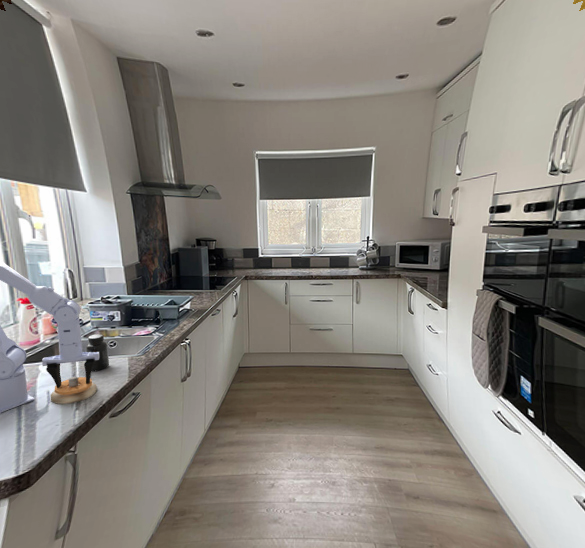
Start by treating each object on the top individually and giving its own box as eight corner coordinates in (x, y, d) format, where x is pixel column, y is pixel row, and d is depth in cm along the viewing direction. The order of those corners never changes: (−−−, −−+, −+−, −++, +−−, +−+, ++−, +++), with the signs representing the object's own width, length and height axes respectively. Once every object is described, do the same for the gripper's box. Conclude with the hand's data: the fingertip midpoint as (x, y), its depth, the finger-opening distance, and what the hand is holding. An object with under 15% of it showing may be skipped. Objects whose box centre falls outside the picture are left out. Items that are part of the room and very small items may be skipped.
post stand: (64, 408, 98) (63, 391, 97) (42, 397, 104) (41, 381, 103) (105, 390, 108) (104, 375, 108) (82, 381, 114) (81, 367, 113)
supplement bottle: (104, 362, 130) (102, 331, 128) (112, 367, 125) (110, 335, 124) (84, 368, 124) (81, 336, 123) (92, 373, 120) (89, 340, 118)
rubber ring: (66, 397, 99) (65, 395, 99) (48, 389, 104) (48, 386, 104) (98, 384, 108) (98, 381, 108) (80, 377, 112) (80, 374, 112)
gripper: (99, 335, 110) (102, 375, 112) (45, 340, 105) (49, 382, 107) (95, 342, 103) (99, 385, 105) (38, 348, 98) (42, 392, 100)
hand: (73, 384), depth 106 cm, fingers open, 7 cm apart
